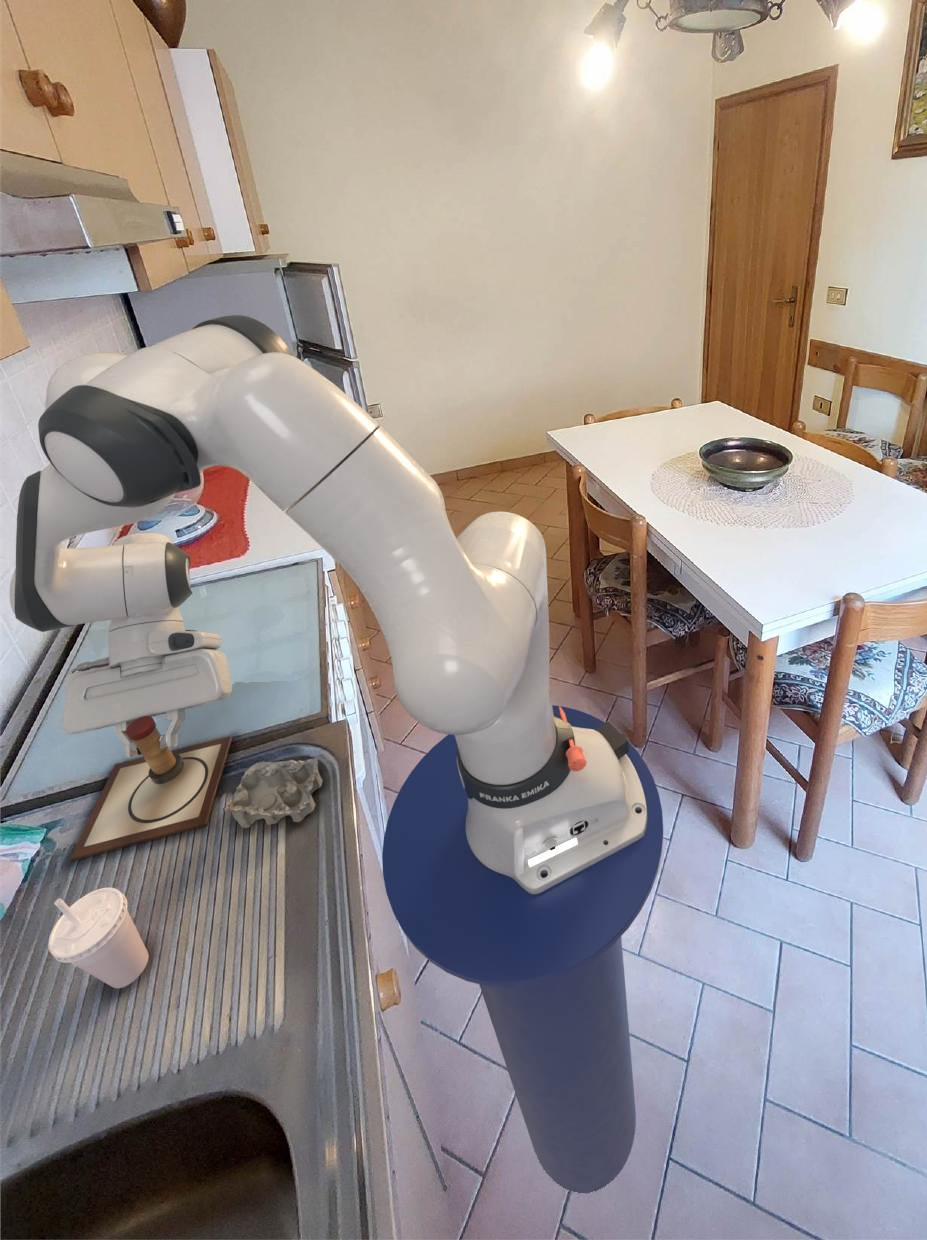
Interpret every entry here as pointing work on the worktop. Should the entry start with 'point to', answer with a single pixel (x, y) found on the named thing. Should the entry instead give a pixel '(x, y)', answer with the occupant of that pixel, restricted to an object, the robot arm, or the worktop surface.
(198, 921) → the worktop surface
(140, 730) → the stamp
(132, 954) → the smoothie
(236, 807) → the egg carton
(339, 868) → the worktop surface
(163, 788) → the drawing board
